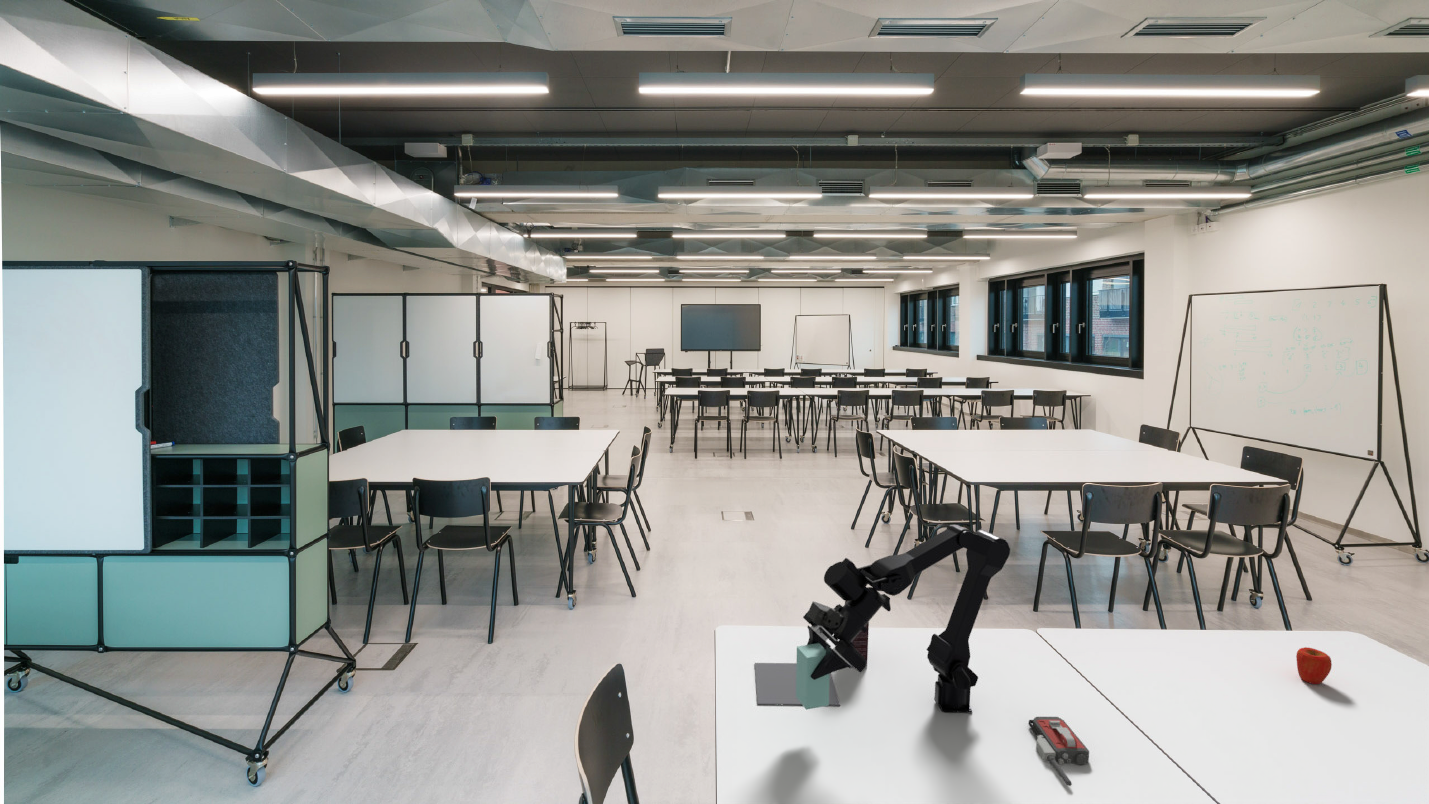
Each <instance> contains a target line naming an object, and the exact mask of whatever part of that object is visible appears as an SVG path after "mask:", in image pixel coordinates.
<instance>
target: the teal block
mask: <svg viewBox="0 0 1429 804" xmlns="http://www.w3.org/2000/svg"><path fill="white" fill-rule="evenodd" d="M825 654H826V650H825V649H824V648H823V647H822V646H821V645H820V644H819V643H816V644H810V645H807V644H804V645H799V646H796V663H797V667H796V697H797V699H798V700H799V701H800V702H801V704H802V705H801V706H803V708H804V709H805V710H806V711H807V710H811V709H812V710H813V709H817V708H823V707H828V706H829V676H830V674H827V675H825V676H822V677H820V678H818V679H815V680H814V679H812V678H811V674H812V673H813V671H814V670H815V668H816V667H817V665H818V664H819V663H820V661H821V660H822V659H823V657H824V656H825Z"/></svg>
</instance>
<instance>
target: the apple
mask: <svg viewBox="0 0 1429 804" xmlns="http://www.w3.org/2000/svg"><path fill="white" fill-rule="evenodd" d="M1295 657H1296V666H1297V667H1296V668H1297V672H1298V676H1299V678H1300V679H1301V680H1303V681H1304V682H1306V683H1309V684H1312V685H1319V684H1321V683H1323V682H1324V681H1325V680H1326V678H1328V676H1329V674H1330V672H1331V670H1332V666H1333V664H1332V659H1331V656H1330V655H1328V654H1327V653H1326V652H1324V651H1321V650H1319V649H1316V648H1312V647H1301V648H1299V649H1298V650H1297V652H1296V656H1295Z"/></svg>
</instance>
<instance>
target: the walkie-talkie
mask: <svg viewBox="0 0 1429 804" xmlns="http://www.w3.org/2000/svg"><path fill="white" fill-rule="evenodd" d="M1028 726H1029V727H1030V728H1031V731H1032V732H1033V733H1035V734H1034V735H1035V736H1036V746H1035V750H1036V751H1037V752H1038V754H1039V755H1040V757H1041V759H1042V761H1043V762H1045V763H1046V762H1047V763H1049V764H1050V765H1052V767H1053V769H1054V770H1055V771H1056V773H1057V774H1058V775H1059V777H1061V779H1062V780H1063V782H1064V783H1065V784H1066V785H1067V786H1068V787H1071V786H1072V781H1071V780H1070V778H1069V777H1068V775H1067V774H1066V773H1065V771H1064V770H1063V769H1062V767H1061V766H1060V765H1064V764H1077V765H1080V766H1082V765H1085V764H1089V760H1090V759H1089V758H1090V750H1089V749H1088V748H1087V747H1086V745H1085V744H1084V743H1083V741H1081V739H1080V738H1079V737H1078V735H1076V734H1075V732H1074V731H1073V730H1072V729H1071V727H1070V725H1068V724H1067V722H1066V721H1065V719H1062V718H1060V717H1059V716H1035V717H1034V718H1033V719H1029V720H1028Z"/></svg>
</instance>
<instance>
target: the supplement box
mask: <svg viewBox="0 0 1429 804" xmlns="http://www.w3.org/2000/svg"><path fill="white" fill-rule="evenodd" d="M846 602H847V601H845V600H844V605H845V604H847V603H846ZM866 622H867V621H866ZM869 625H870V621H869V622H867V624H866V625H865V627H866V628H867V629H868V630H867V631H866V632H865V633H864V632H862V631H860V632H859V634H858V635H857V636H856V637H855V638H854V640H853V641H852V643H853V644H854V648H855V649H856V650H857V651H858V652H859V653H860V654H861V655H863V656H864V657H865V658H866V659H867V660H868V653H869V652H868V651H869V650H868V649H869V629H870V628H869ZM849 665H850V666H851V668H854V667H853V666H852V665H851V664H849ZM867 667H868V665H867V666H866V668H867Z"/></svg>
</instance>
